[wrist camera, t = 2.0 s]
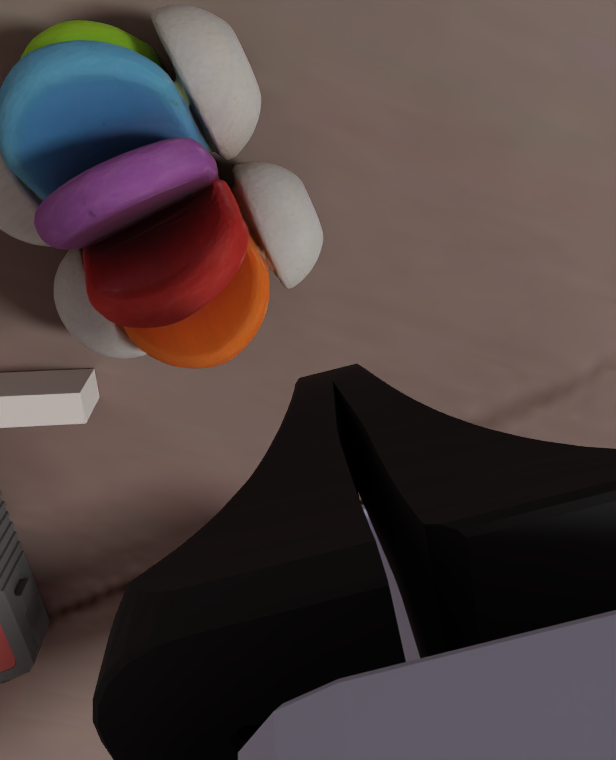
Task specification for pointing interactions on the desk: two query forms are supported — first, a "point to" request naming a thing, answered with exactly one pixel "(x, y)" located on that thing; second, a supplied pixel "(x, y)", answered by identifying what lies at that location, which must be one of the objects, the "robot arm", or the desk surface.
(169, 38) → the colorful petals pebble cluster
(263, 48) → the desk surface
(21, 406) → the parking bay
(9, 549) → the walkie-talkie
